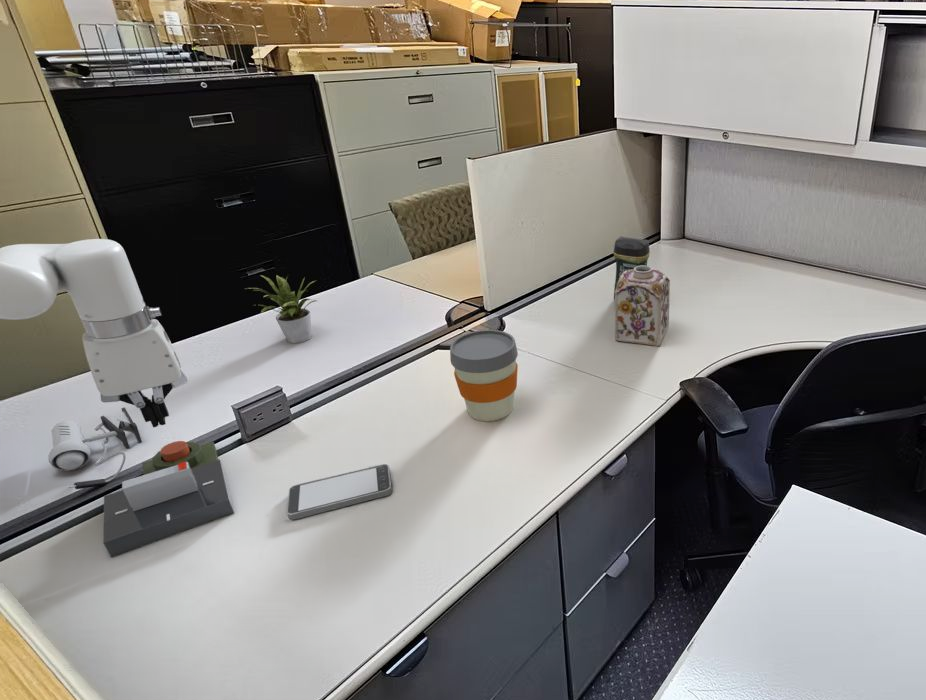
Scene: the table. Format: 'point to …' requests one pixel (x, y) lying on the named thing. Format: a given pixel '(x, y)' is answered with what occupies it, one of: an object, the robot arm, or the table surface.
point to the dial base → (166, 512)
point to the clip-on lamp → (76, 453)
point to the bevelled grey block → (159, 486)
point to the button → (175, 451)
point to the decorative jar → (642, 306)
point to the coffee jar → (629, 255)
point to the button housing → (195, 458)
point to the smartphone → (338, 491)
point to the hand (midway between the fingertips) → (159, 421)
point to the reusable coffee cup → (486, 372)
